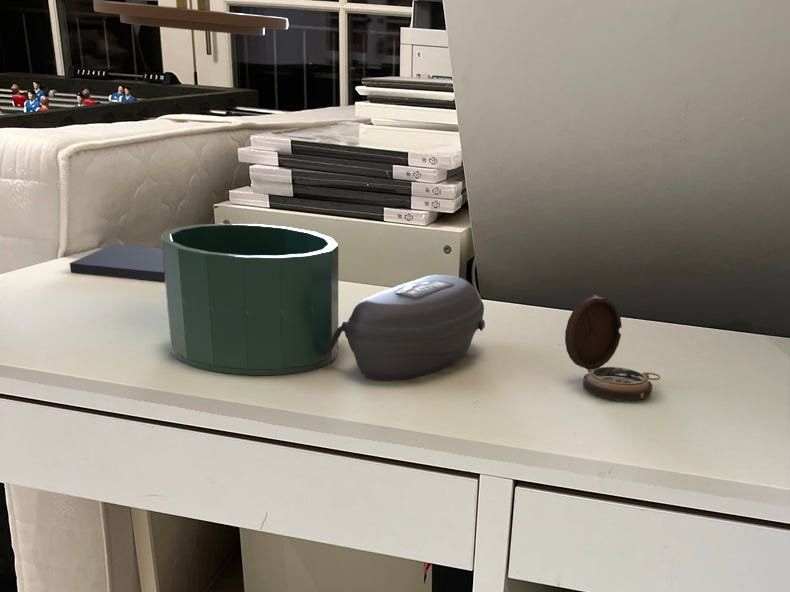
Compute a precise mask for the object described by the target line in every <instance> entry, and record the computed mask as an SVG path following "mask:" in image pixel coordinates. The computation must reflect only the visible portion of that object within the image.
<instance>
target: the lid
mask: <svg viewBox="0 0 790 592" xmlns="http://www.w3.org/2000/svg"><path fill="white" fill-rule="evenodd" d="M196 2H197V9H196V8H188V0H175V6H176V7H175V6H165V5H154V4H146V3H145V4H144V3H134V2H133V3H132V2H122V1H113V0H92V3H93V10H94V12H97V13H103V14H113V15H119V19H120V23H122V24H130V25H139V26H148V27H155V28H156V27H158V28H168V29H177V30H178V29H179V30H189V31H200V32H211V33H222V34H234V35H247V36H265V29H274V30H288V29H289V19H288V18H287V17H278V16H268V15H258V14H248V13H247V14H246V13H238V12H228V11H227V12H226V11H219V10H218V11H217V10H209V8H208V0H196Z"/></svg>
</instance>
